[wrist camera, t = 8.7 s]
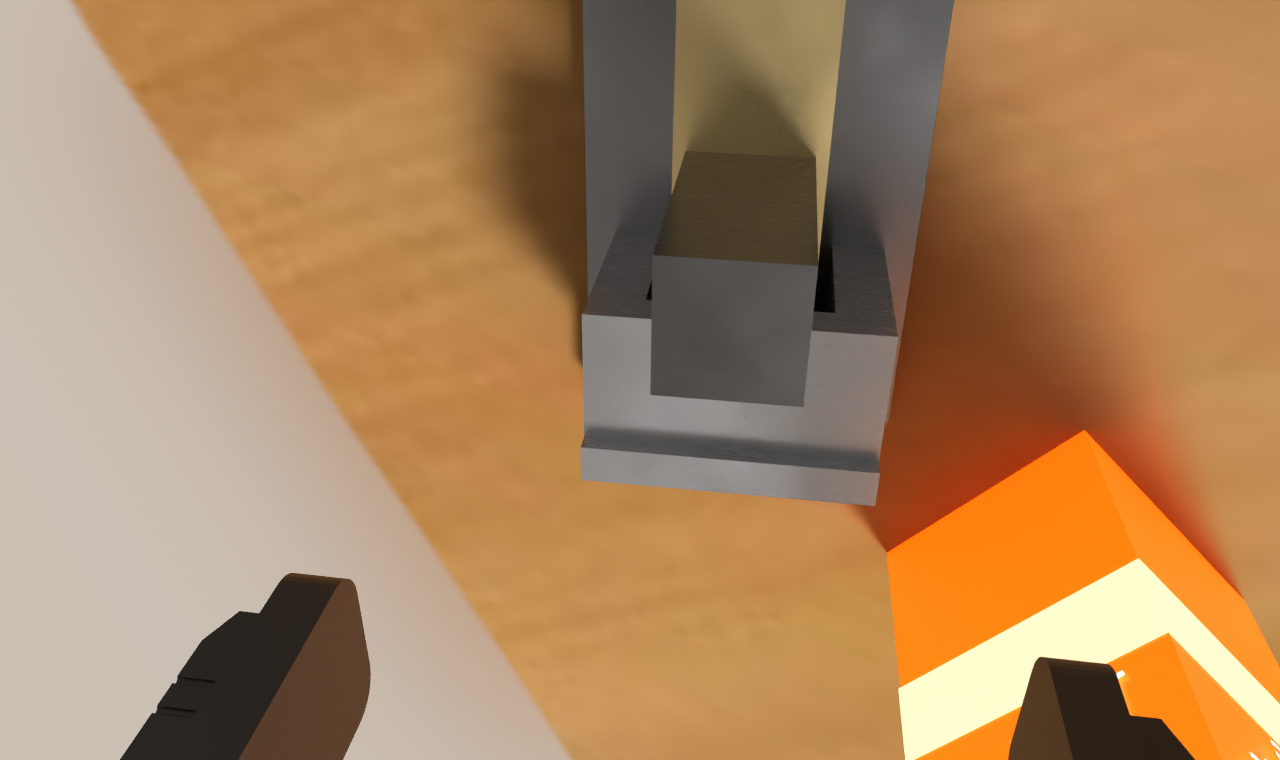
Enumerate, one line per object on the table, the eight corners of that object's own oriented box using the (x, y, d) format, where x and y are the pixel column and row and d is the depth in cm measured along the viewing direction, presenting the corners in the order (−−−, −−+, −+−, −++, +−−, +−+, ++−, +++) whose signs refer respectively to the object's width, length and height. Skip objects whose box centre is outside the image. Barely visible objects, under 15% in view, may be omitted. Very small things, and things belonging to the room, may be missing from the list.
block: (699, -335, 22) (640, -388, 14) (873, -335, 21) (910, -391, 14) (678, 336, 30) (633, 532, 22) (804, 345, 30) (802, 548, 22)
